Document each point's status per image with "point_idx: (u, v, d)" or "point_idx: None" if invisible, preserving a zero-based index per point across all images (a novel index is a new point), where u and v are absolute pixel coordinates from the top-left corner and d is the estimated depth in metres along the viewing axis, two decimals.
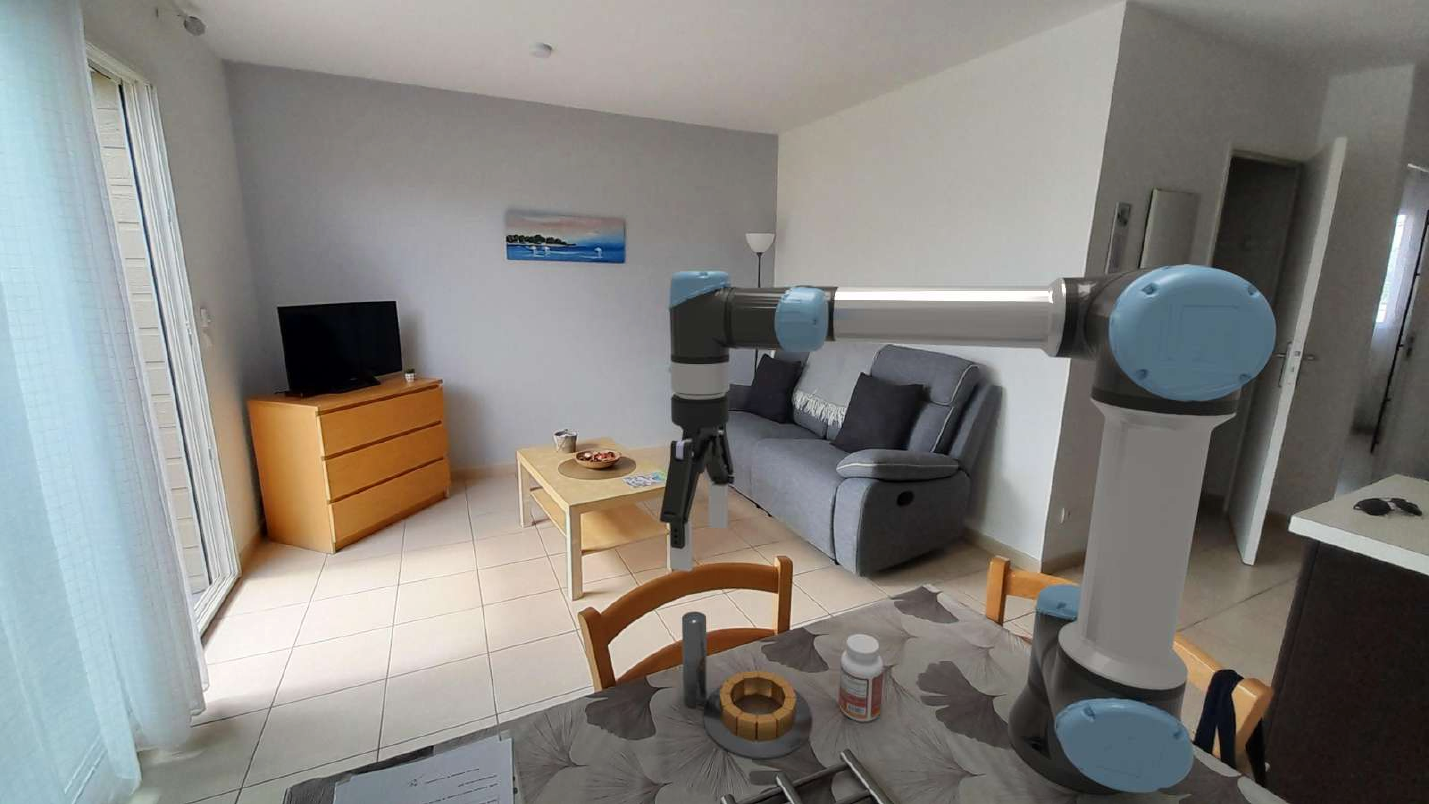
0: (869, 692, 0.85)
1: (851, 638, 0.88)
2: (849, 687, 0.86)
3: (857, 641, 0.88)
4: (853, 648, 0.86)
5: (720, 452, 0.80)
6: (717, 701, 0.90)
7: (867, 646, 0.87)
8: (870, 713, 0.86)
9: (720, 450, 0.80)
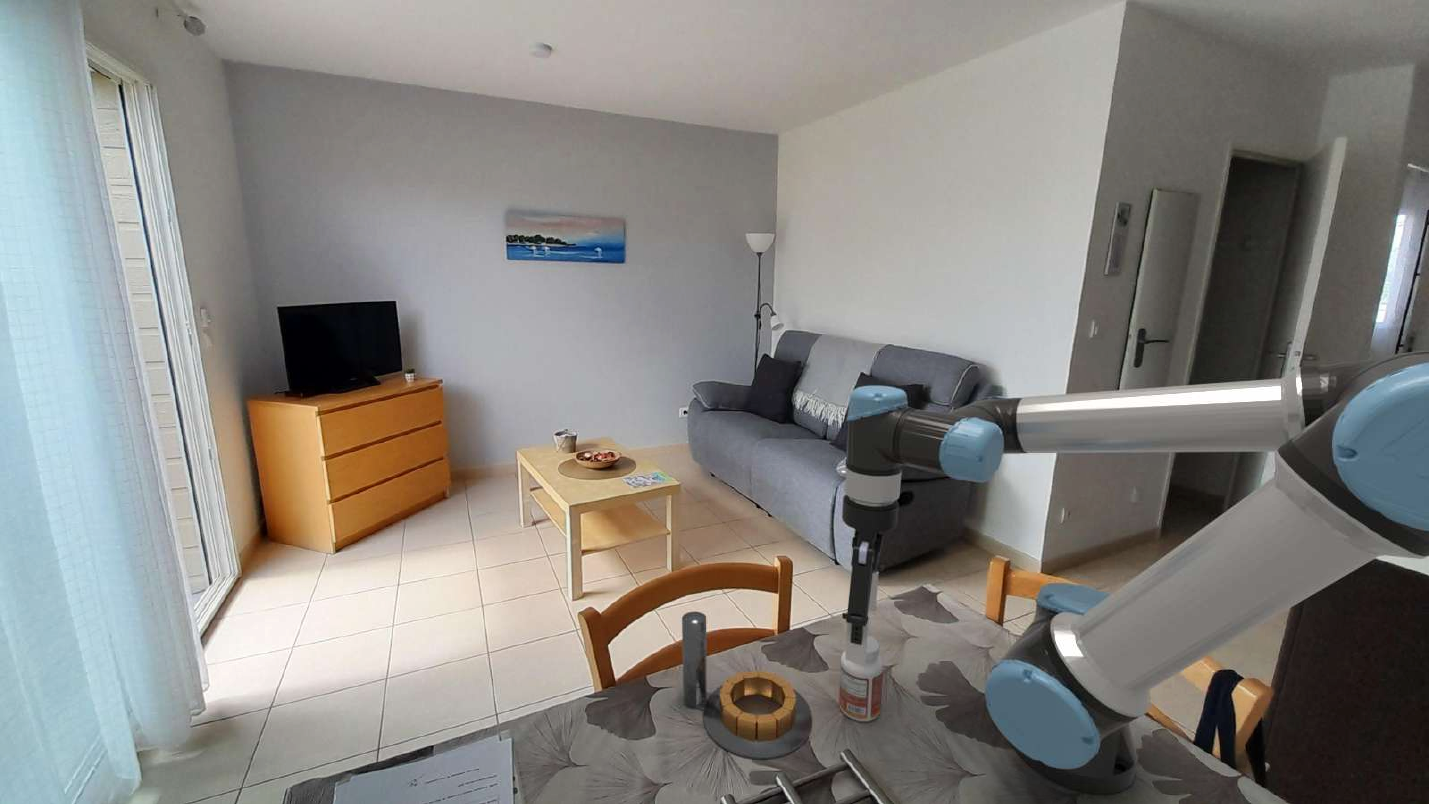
0: (869, 692, 0.85)
1: None
2: (849, 687, 0.86)
3: None
4: None
5: None
6: (717, 701, 0.90)
7: (867, 646, 0.87)
8: (870, 713, 0.86)
9: None
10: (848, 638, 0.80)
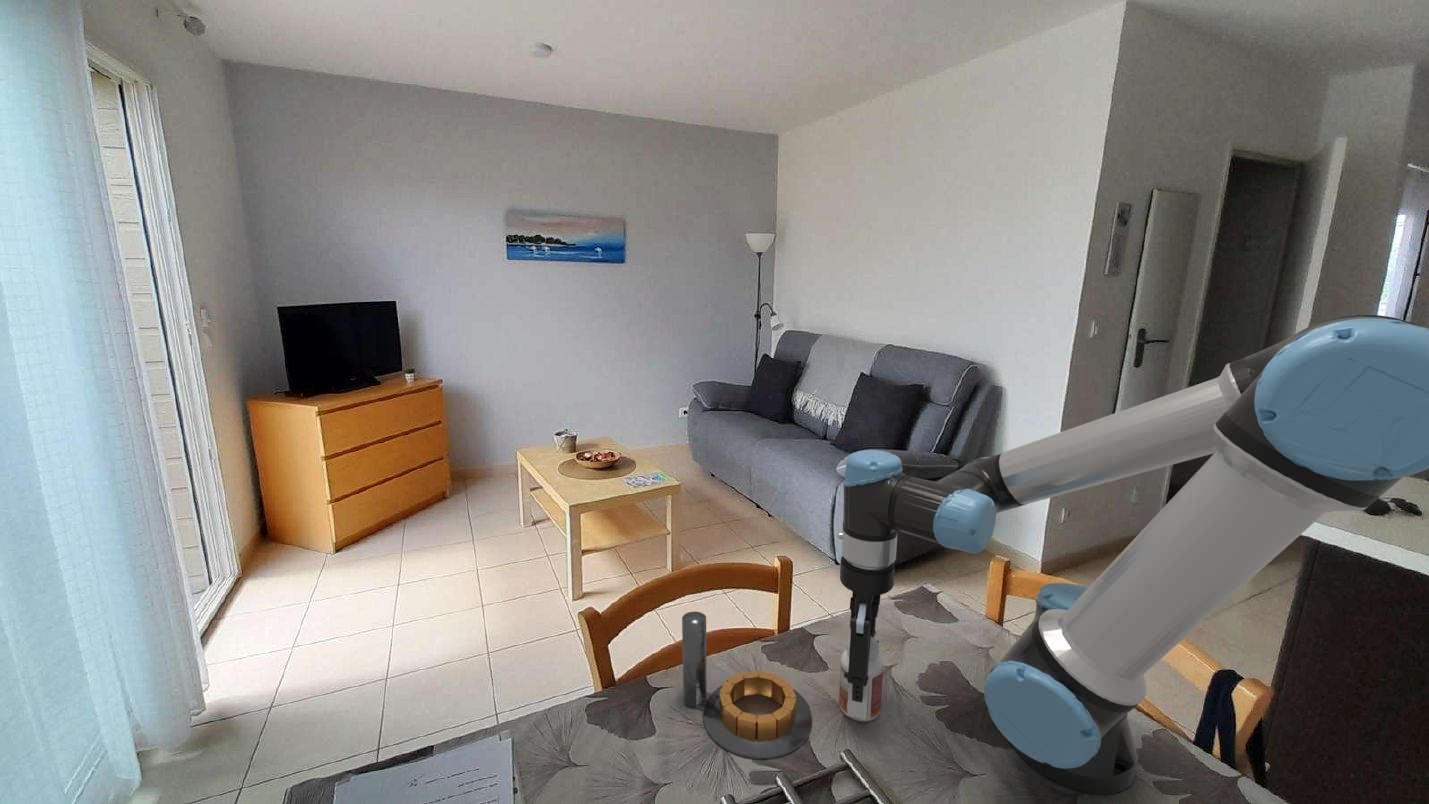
0: (869, 692, 0.85)
1: None
2: None
3: None
4: None
5: None
6: (717, 701, 0.90)
7: None
8: (870, 713, 0.86)
9: None
10: (849, 695, 0.85)
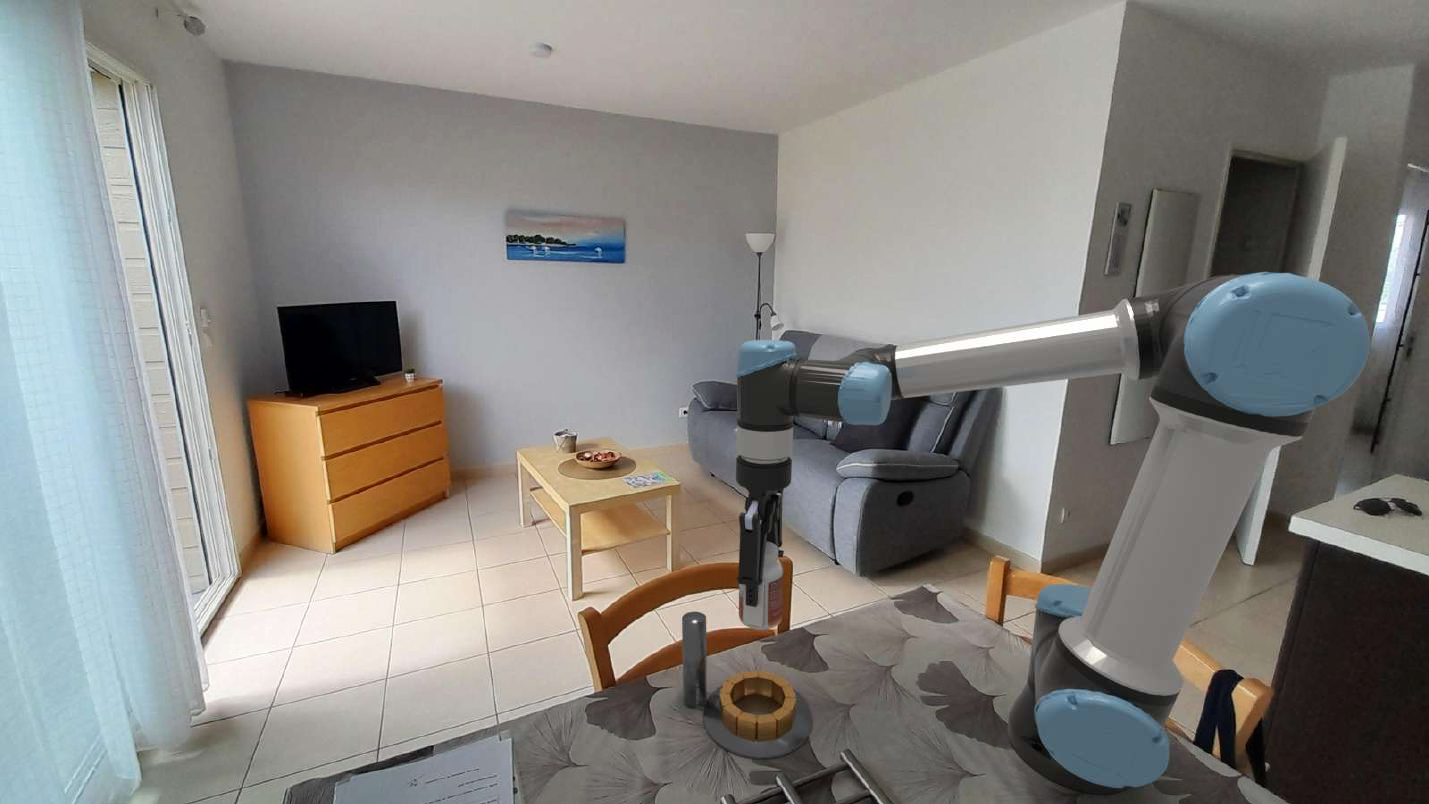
0: (765, 598, 0.81)
1: None
2: None
3: None
4: None
5: (778, 515, 0.83)
6: (717, 701, 0.90)
7: (765, 550, 0.82)
8: (767, 621, 0.82)
9: (778, 513, 0.83)
10: (745, 601, 0.81)
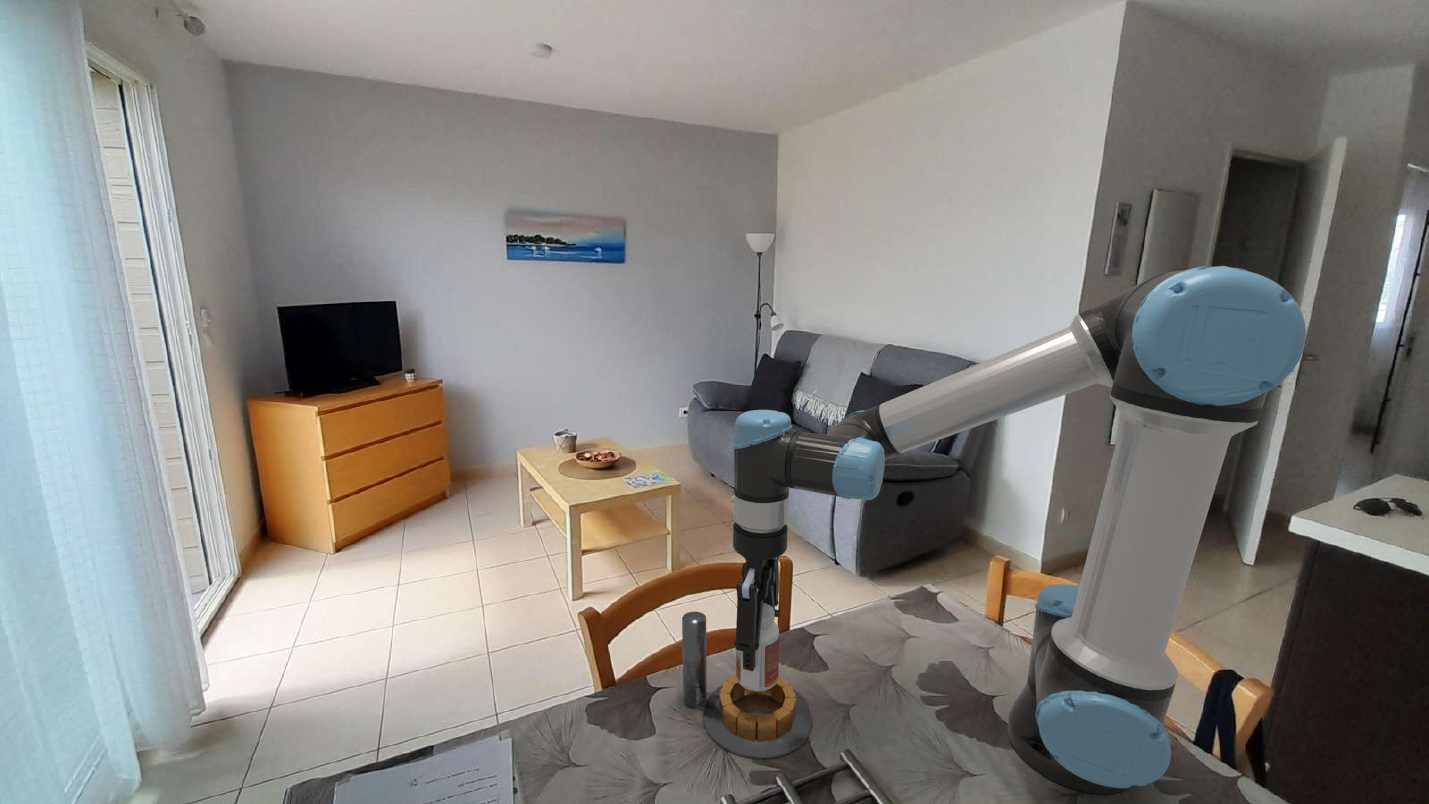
0: (762, 661, 0.83)
1: None
2: None
3: None
4: None
5: (774, 578, 0.85)
6: (717, 701, 0.90)
7: None
8: (764, 683, 0.83)
9: (774, 576, 0.85)
10: (742, 664, 0.83)
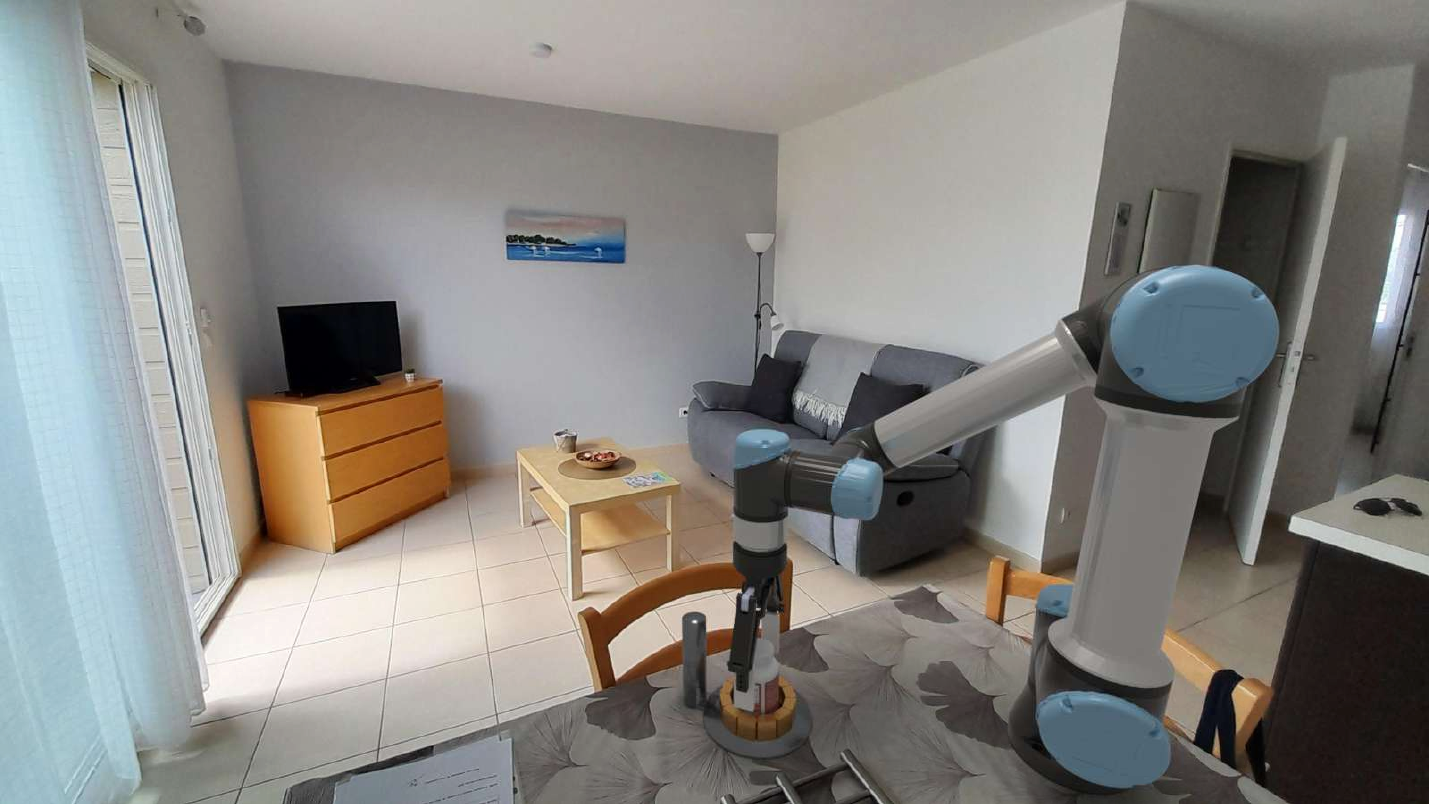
0: (762, 697, 0.84)
1: None
2: None
3: None
4: None
5: (776, 589, 0.86)
6: (717, 701, 0.90)
7: (761, 650, 0.85)
8: None
9: (776, 588, 0.86)
10: (735, 685, 0.80)
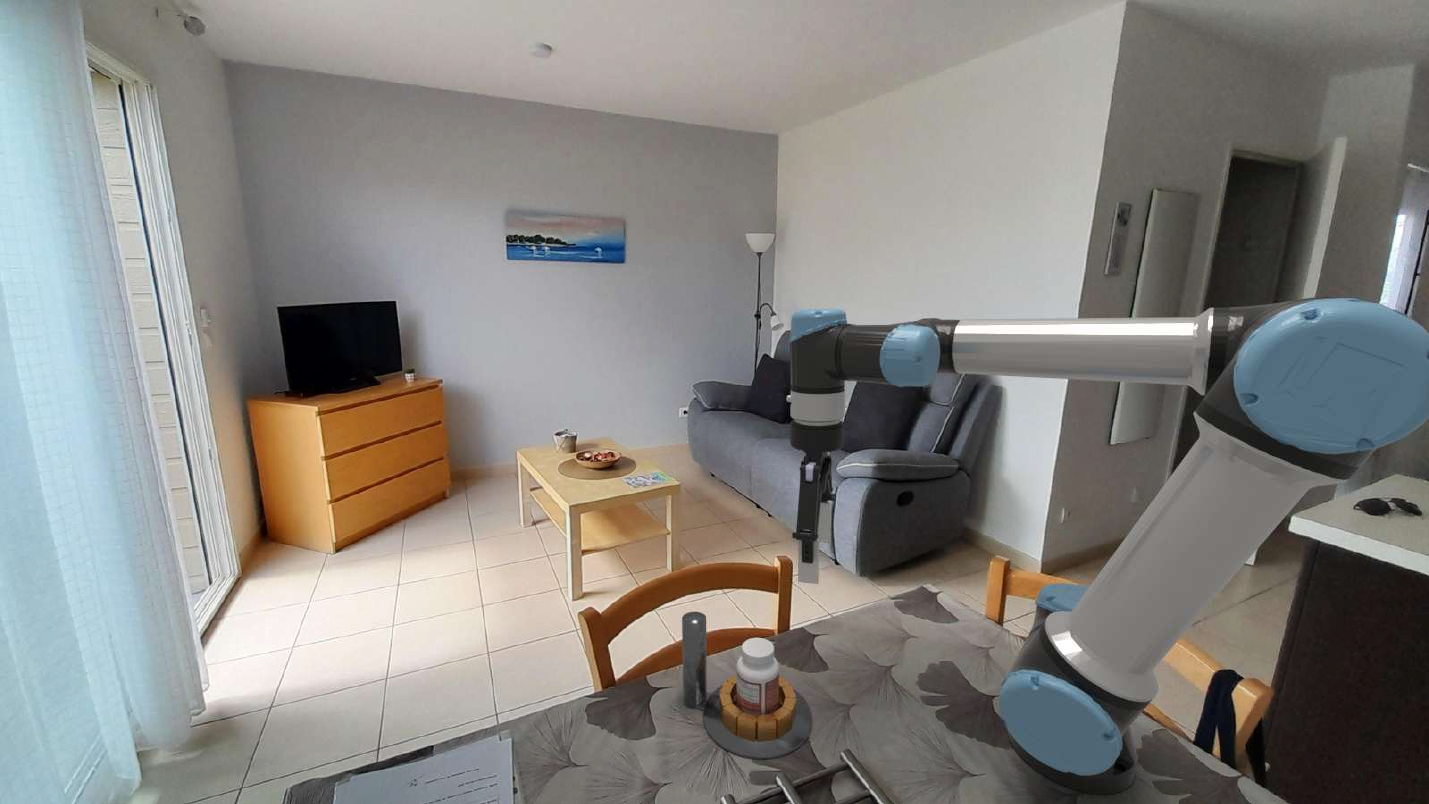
0: (762, 697, 0.84)
1: (747, 642, 0.86)
2: (742, 692, 0.84)
3: (752, 645, 0.86)
4: (746, 652, 0.84)
5: (830, 472, 0.87)
6: (717, 701, 0.90)
7: (761, 650, 0.85)
8: None
9: (830, 471, 0.87)
10: (800, 559, 0.80)
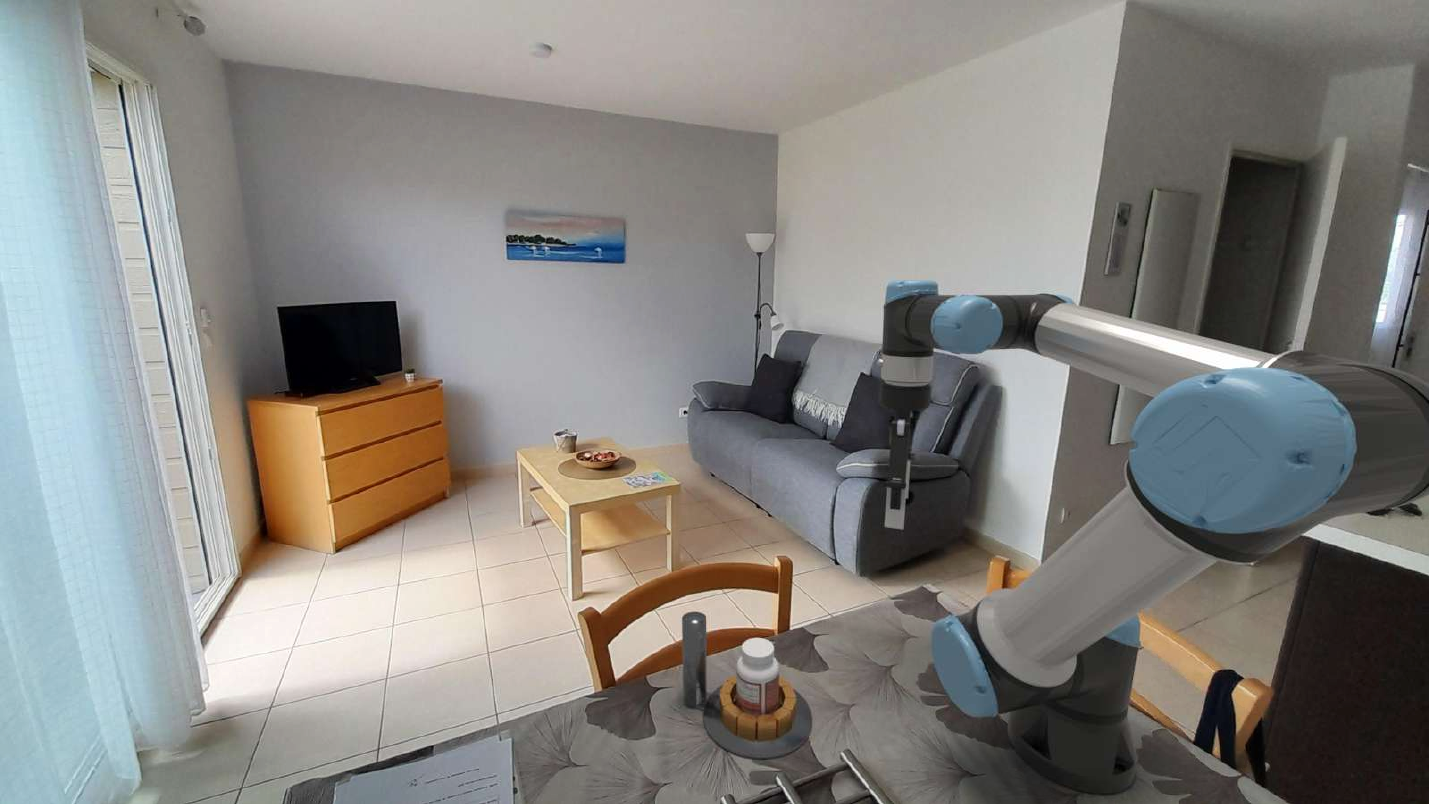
0: (762, 698, 0.84)
1: (747, 642, 0.86)
2: (742, 692, 0.84)
3: (752, 645, 0.86)
4: (746, 652, 0.84)
5: None
6: (717, 701, 0.90)
7: (761, 650, 0.85)
8: None
9: None
10: (887, 506, 0.89)
